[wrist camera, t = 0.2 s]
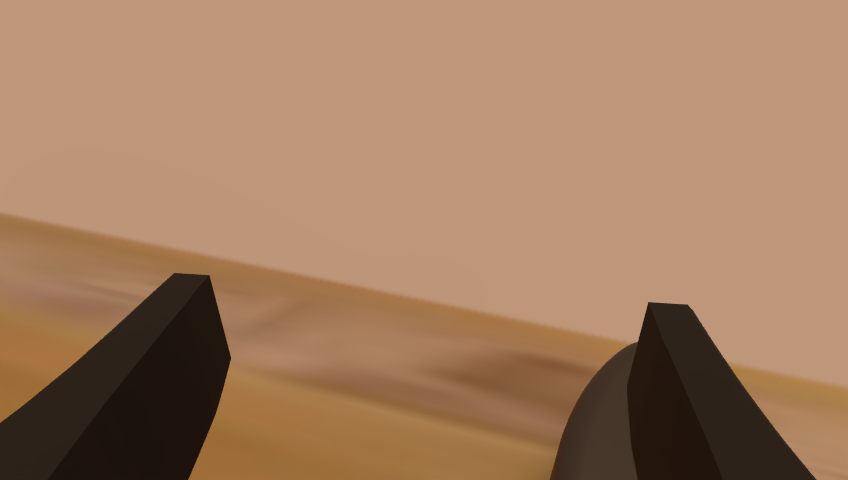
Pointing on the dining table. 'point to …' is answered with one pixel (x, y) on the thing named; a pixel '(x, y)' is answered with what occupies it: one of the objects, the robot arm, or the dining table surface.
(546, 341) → the dining table surface
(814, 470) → the dining table surface
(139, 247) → the dining table surface
